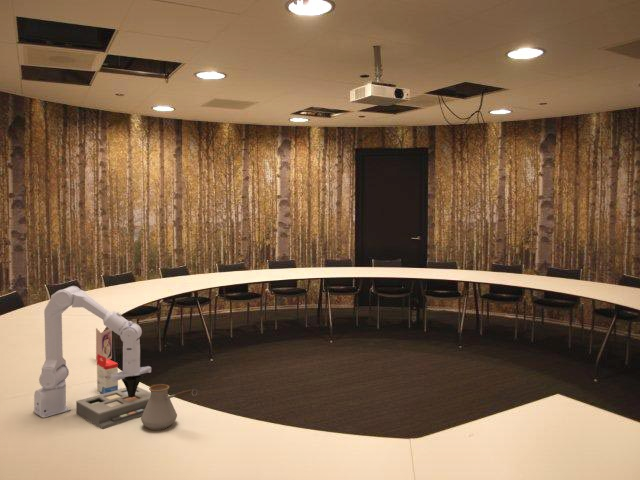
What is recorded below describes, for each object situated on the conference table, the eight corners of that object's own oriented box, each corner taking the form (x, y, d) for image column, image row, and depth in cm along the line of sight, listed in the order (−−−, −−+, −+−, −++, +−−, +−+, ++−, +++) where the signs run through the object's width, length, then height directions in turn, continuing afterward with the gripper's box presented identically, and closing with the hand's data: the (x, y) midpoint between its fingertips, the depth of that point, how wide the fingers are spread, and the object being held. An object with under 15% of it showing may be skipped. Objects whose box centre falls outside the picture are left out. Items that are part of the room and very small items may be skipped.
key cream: (111, 412, 173) (111, 408, 173) (104, 408, 176) (104, 404, 176) (123, 408, 176) (123, 404, 176) (116, 405, 179) (116, 401, 179)
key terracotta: (128, 407, 178) (128, 402, 178) (122, 403, 181) (122, 399, 180) (140, 403, 181) (140, 399, 181) (133, 400, 184) (133, 396, 184)
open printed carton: (102, 365, 232) (102, 333, 231) (86, 365, 232) (86, 332, 231) (113, 358, 244) (113, 327, 243) (98, 357, 244) (98, 326, 243)
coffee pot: (133, 427, 167) (133, 382, 166) (159, 415, 177) (159, 373, 176) (182, 442, 157) (182, 395, 156) (207, 429, 167) (207, 384, 166)
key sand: (110, 404, 179) (110, 400, 179) (104, 401, 182) (104, 397, 182) (122, 401, 183) (122, 397, 183) (116, 398, 186) (116, 394, 186)
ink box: (118, 392, 198) (118, 355, 197) (105, 395, 195) (105, 358, 194) (108, 387, 204) (108, 351, 203) (96, 390, 200) (96, 353, 200)
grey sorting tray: (102, 428, 165) (102, 415, 165) (76, 413, 177) (76, 401, 177) (162, 409, 182) (162, 397, 182) (134, 396, 194) (134, 385, 194)
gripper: (117, 365, 172) (118, 405, 173) (156, 356, 183) (155, 393, 184) (107, 361, 176) (107, 399, 177) (145, 353, 188) (145, 389, 188)
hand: (131, 396), depth 181 cm, fingers closed
